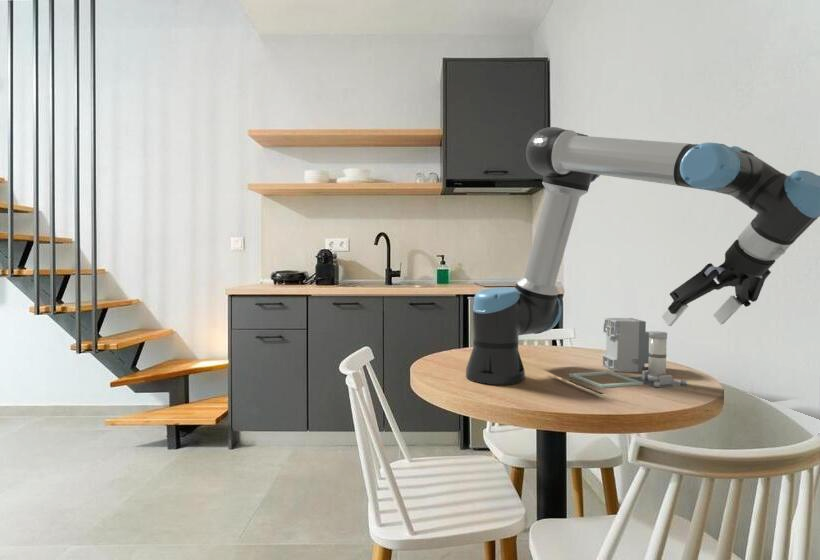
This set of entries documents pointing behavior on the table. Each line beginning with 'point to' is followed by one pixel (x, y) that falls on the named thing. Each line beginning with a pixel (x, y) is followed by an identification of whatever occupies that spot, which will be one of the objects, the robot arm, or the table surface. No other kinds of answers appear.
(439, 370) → the table surface
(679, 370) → the table surface
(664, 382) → the block
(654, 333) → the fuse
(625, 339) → the circuit breaker
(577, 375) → the tray
